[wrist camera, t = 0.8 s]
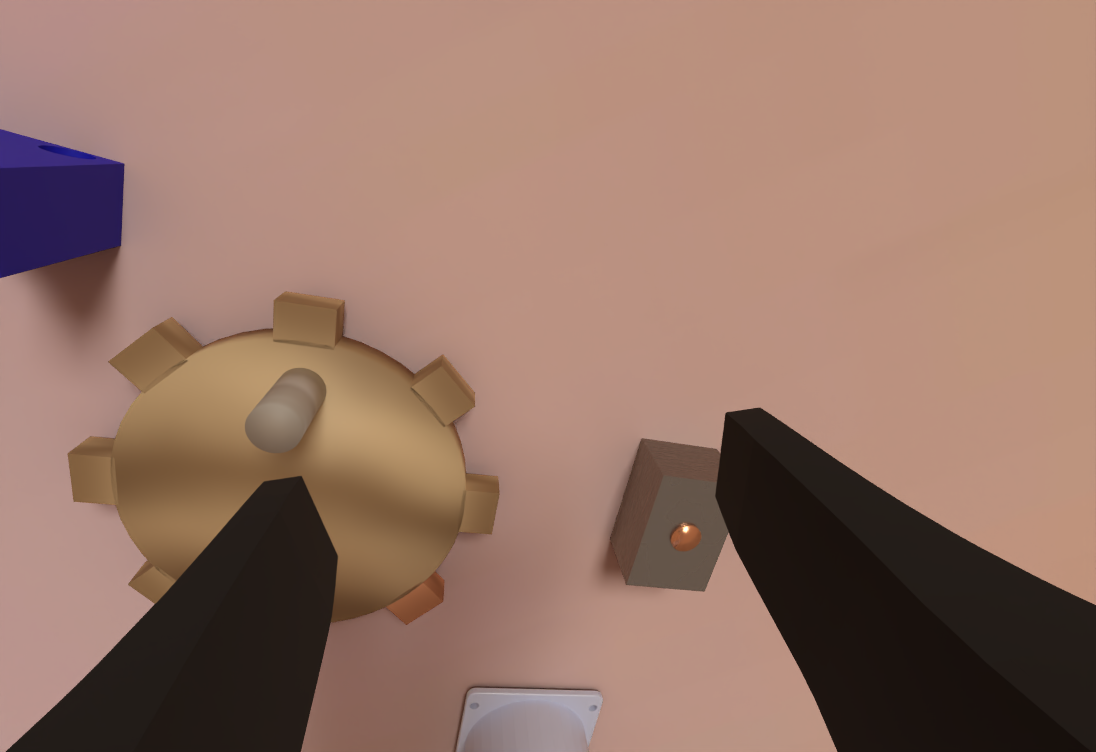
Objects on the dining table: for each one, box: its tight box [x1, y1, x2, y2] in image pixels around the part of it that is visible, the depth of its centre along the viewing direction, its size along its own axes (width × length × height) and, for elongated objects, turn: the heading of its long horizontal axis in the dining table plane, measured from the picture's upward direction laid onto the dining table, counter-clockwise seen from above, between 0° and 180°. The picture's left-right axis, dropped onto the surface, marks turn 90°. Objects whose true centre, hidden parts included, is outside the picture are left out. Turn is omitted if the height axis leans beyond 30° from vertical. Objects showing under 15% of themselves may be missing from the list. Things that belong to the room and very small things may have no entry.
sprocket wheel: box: [68, 291, 499, 625], centre depth 22 cm, size 17×17×5 cm
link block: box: [610, 438, 728, 592], centre depth 27 cm, size 6×4×4 cm, turn 167°
